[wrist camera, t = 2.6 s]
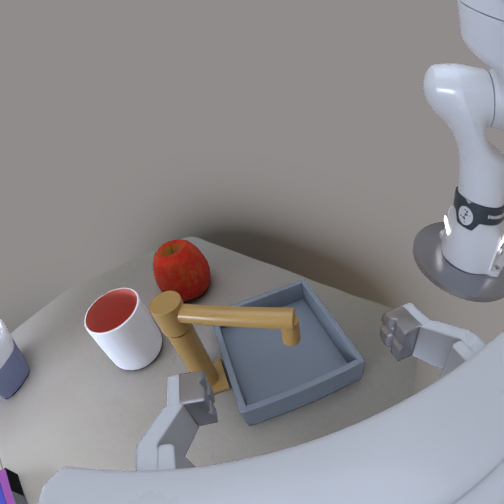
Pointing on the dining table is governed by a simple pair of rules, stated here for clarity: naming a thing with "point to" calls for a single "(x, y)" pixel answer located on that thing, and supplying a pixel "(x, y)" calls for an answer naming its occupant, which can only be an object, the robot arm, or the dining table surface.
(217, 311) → the spout
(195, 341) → the faucet base
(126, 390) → the dining table surface
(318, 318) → the sink
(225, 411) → the dining table surface
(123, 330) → the cup
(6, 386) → the bowl
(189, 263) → the apple
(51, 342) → the dining table surface
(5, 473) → the book
